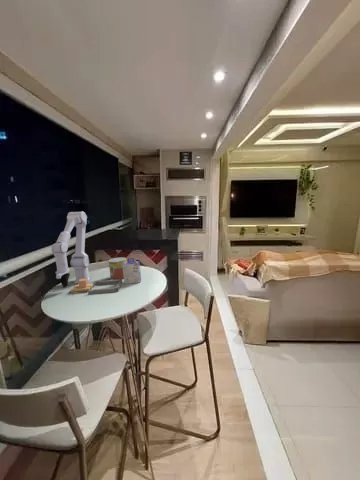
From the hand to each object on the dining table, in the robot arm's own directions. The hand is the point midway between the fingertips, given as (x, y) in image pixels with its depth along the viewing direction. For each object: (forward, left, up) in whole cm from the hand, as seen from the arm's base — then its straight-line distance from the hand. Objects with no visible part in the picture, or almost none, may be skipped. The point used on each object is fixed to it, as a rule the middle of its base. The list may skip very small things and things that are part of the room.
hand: (65, 286), depth 147 cm
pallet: (0, +9, -3) cm, 10 cm away
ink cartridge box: (-7, +38, -3) cm, 38 cm away
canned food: (-18, +28, -3) cm, 33 cm away
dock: (0, +24, -3) cm, 24 cm away
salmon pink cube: (0, +10, -1) cm, 10 cm away
